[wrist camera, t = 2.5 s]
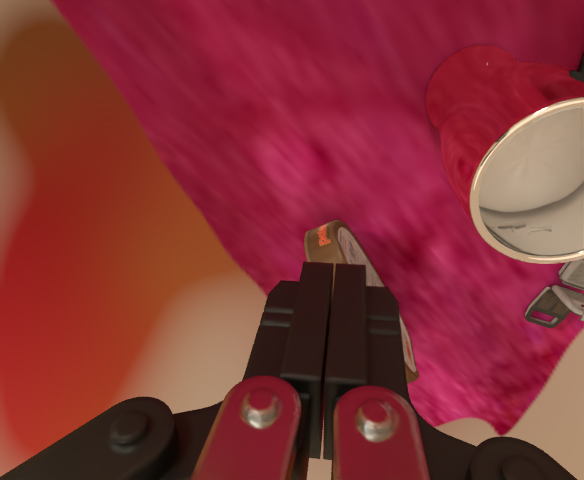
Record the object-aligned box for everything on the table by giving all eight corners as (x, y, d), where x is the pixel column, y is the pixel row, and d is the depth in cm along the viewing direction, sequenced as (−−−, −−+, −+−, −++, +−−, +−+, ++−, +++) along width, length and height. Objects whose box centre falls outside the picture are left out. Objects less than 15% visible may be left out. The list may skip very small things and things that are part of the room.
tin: (306, 212, 34) (292, 273, 27) (341, 196, 33) (335, 256, 26) (385, 337, 40) (390, 415, 33) (417, 328, 39) (429, 405, 32)
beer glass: (535, 127, 28) (677, 245, 16) (430, 158, 30) (479, 284, 18) (524, 18, 25) (688, 56, 13) (407, 61, 27) (447, 131, 15)
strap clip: (584, 236, 32) (612, 268, 28) (621, 249, 32) (653, 282, 28) (519, 314, 37) (536, 351, 33) (552, 325, 37) (572, 363, 33)
